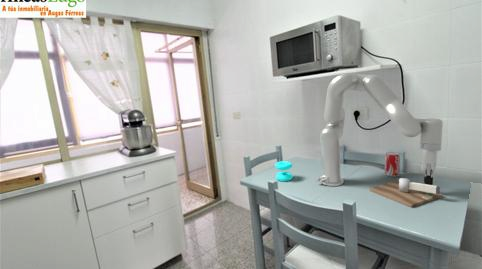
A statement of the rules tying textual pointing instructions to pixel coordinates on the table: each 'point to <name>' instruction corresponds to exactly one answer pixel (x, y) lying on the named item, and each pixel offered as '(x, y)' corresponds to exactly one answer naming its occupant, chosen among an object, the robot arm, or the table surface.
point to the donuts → (284, 175)
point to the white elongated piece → (417, 186)
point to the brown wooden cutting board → (404, 194)
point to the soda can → (392, 164)
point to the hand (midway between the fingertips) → (428, 184)
